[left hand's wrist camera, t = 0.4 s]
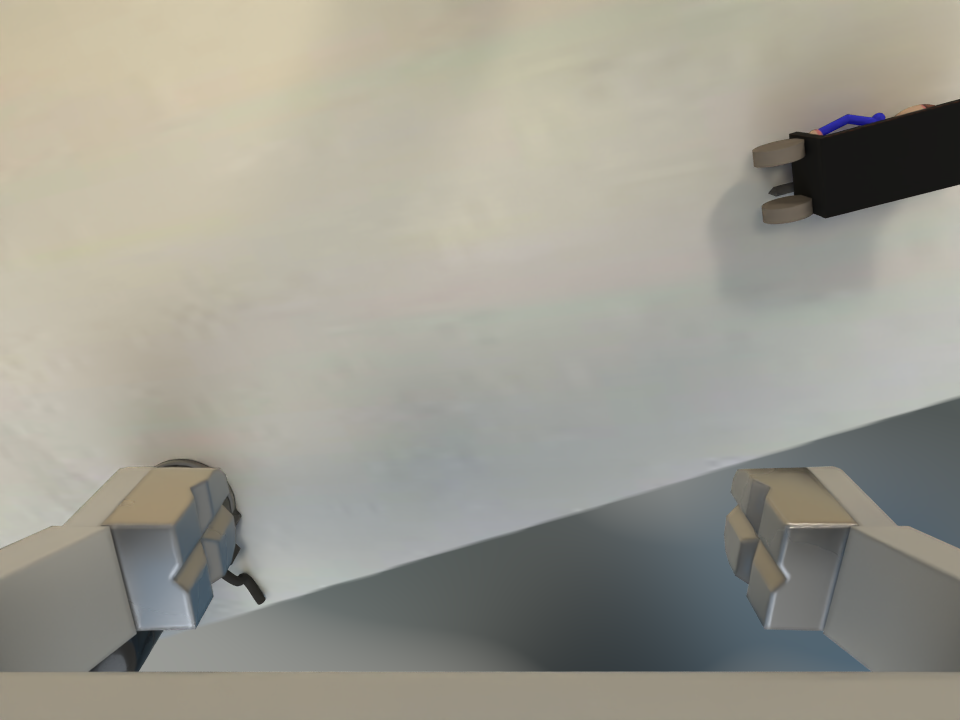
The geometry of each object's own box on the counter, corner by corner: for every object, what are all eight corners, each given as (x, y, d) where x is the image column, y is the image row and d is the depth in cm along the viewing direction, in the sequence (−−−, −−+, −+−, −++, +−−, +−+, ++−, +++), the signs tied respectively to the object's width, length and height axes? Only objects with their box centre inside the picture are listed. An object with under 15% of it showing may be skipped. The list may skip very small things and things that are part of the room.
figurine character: (747, 219, 56) (937, 169, 53) (774, 238, 49) (994, 182, 46) (735, 141, 53) (933, 84, 50) (762, 149, 47) (993, 84, 43)
